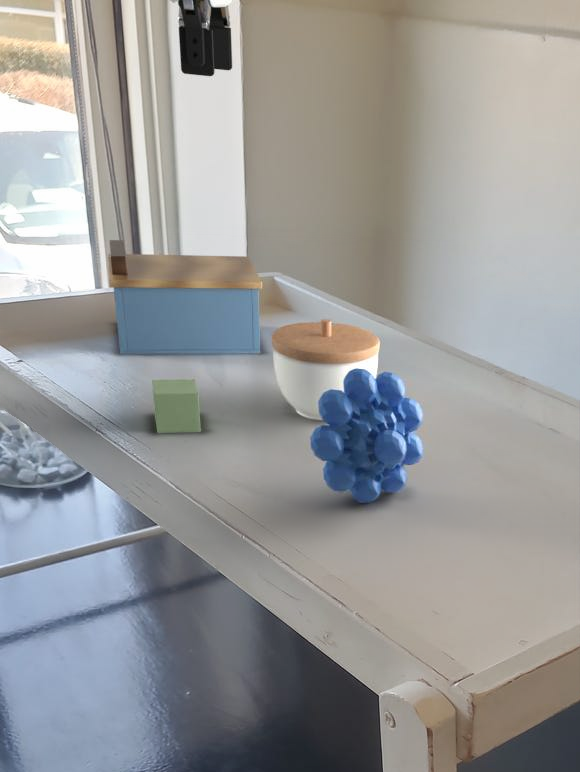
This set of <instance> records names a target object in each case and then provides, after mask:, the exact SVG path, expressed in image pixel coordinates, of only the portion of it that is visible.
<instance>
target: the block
mask: <svg viewBox="0 0 580 772" xmlns="http://www.w3.org/2000/svg"><path fill="white" fill-rule="evenodd" d="M151 385H152V387H151V388H152V397H153V408H154V418H155V427H156V433H157V434H173V433H200V432H201V431H202V429H201V414H200V413H201V412H200V399H199V391H198V387H197V382H196V379H194V378H185V379H184V378H183V379H179V378H178V379H152V380H151Z"/></svg>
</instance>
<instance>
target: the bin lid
mask: <svg viewBox="0 0 580 772" xmlns="http://www.w3.org/2000/svg"><path fill="white" fill-rule="evenodd" d="M107 271H108V284H109V285H108V286H109V288H114V287H125V288H214V289H258V290H262V289H263V281H262V280H261V278H260V275H259V274H258V272H257V270H256V268H255V267H254V264H253V262H252V261H251V259H250V257H249V256H246V255H245V256H241V255H240V256H238V255H237V256H236V255H195V254H191V255H189V254H184V255H183V254H148V253H147V254H143V253H126V246H125V240H123V239H110V240H109V253H107Z"/></svg>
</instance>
